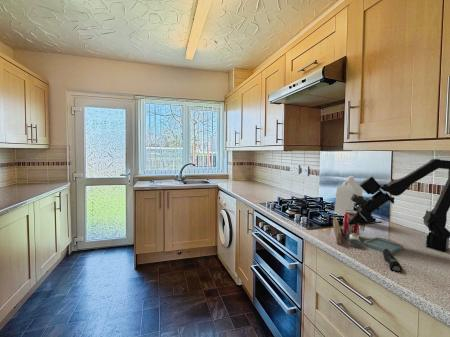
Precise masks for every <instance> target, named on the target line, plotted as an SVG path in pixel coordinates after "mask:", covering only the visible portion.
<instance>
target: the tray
mask: <svg viewBox="0 0 450 337" xmlns="http://www.w3.org/2000/svg"><path fill="white" fill-rule="evenodd" d="M362 246H364V247H367V248H369V249H373V250H376V251H378V252H382V253H383V251H384V249H388V250H389V251H390V253H391V254H392V255H393V254H396V253H398V252H400V251H401V250H403V249H404V245H403V244H400V243H397V242H393V241H390V240H386V239H382V238H380V237H376V236H375V237H373V238H370V239H367V240H365V241H362Z"/></svg>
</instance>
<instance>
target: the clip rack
mask: <svg viewBox="0 0 450 337" xmlns="http://www.w3.org/2000/svg"><path fill="white" fill-rule="evenodd" d="M332 227H333V231H334V232H333V233H334V237H335V241H336V244H337V245H340V244H341V245H342V230H341V227H340V224H339V220H337V217H334V216H333V221H332ZM350 234H351V233H348V232H346V236H345V240H347V242H348V245H350V246H349V247H353V246H354V248H361V240H360V239H359V240H357V239H350ZM355 234H356V233H355ZM357 235H358V236H359V237H360V235H359V234H357ZM349 239H350V243H349Z"/></svg>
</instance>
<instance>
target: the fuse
mask: <svg viewBox="0 0 450 337" xmlns="http://www.w3.org/2000/svg"><path fill="white" fill-rule="evenodd" d="M350 239H357V240H360V235H359V236H358V235H357V234H355V233H351V234H350ZM350 239H349V242H348V244H349V243H350Z"/></svg>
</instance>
